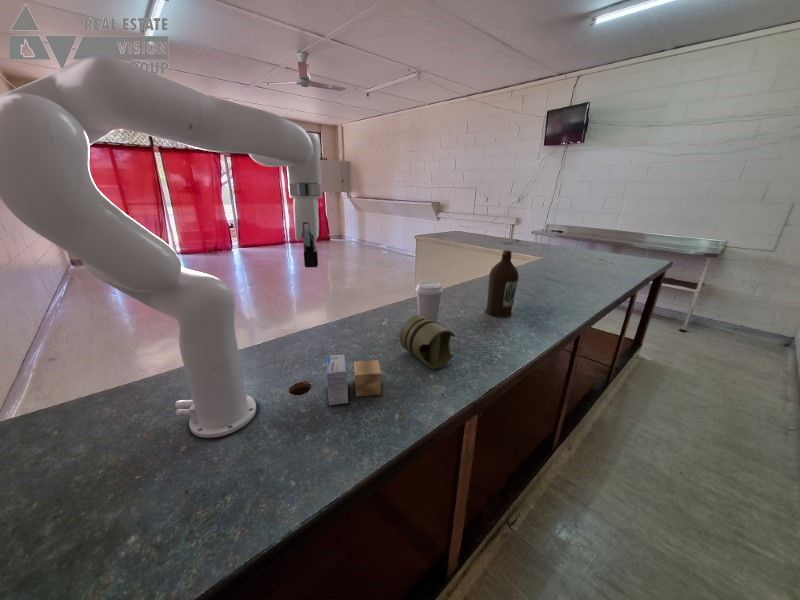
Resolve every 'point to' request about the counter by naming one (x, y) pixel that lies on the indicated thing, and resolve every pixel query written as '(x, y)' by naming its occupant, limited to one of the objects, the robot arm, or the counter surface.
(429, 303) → the coffee cup
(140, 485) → the counter surface
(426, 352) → the piston
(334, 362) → the medicine box
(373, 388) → the maple block
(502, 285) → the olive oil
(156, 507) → the counter surface
